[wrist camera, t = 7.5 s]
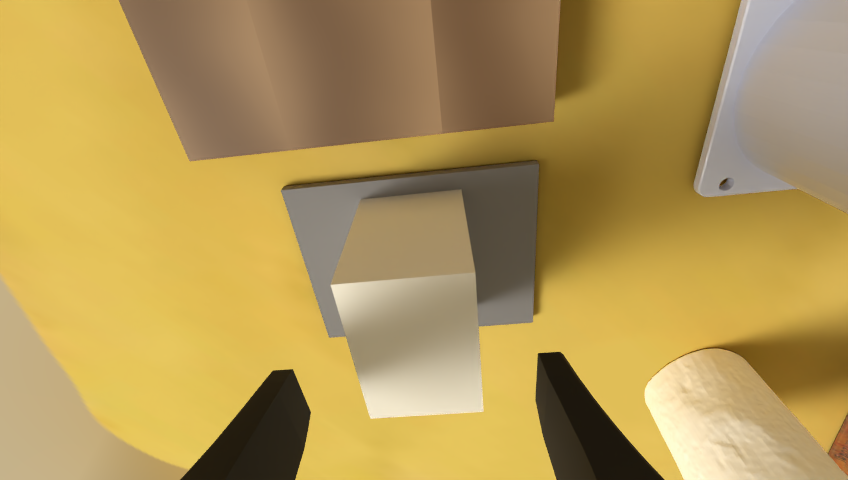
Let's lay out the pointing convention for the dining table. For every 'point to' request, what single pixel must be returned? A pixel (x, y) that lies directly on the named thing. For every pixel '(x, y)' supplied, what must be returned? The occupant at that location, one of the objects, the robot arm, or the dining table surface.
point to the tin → (841, 448)
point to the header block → (344, 69)
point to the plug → (411, 305)
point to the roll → (731, 423)
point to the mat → (486, 219)
